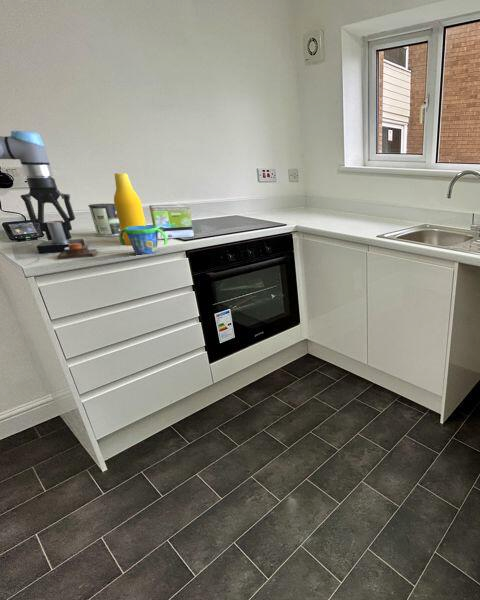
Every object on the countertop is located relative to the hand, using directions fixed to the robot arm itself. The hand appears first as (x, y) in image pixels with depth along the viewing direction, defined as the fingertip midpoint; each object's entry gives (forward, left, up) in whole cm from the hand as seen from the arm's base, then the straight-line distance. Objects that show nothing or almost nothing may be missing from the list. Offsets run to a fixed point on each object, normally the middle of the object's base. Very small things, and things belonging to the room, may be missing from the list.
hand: (59, 239), depth 138 cm
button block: (+7, -13, -4) cm, 15 cm away
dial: (0, 0, -1) cm, 1 cm away
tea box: (+38, +14, -4) cm, 41 cm away
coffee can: (+11, +30, -4) cm, 32 cm away
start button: (+7, -13, -2) cm, 15 cm away
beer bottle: (+24, +4, -4) cm, 25 cm away
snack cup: (+29, -18, -4) cm, 34 cm away
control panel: (0, 0, -4) cm, 4 cm away
